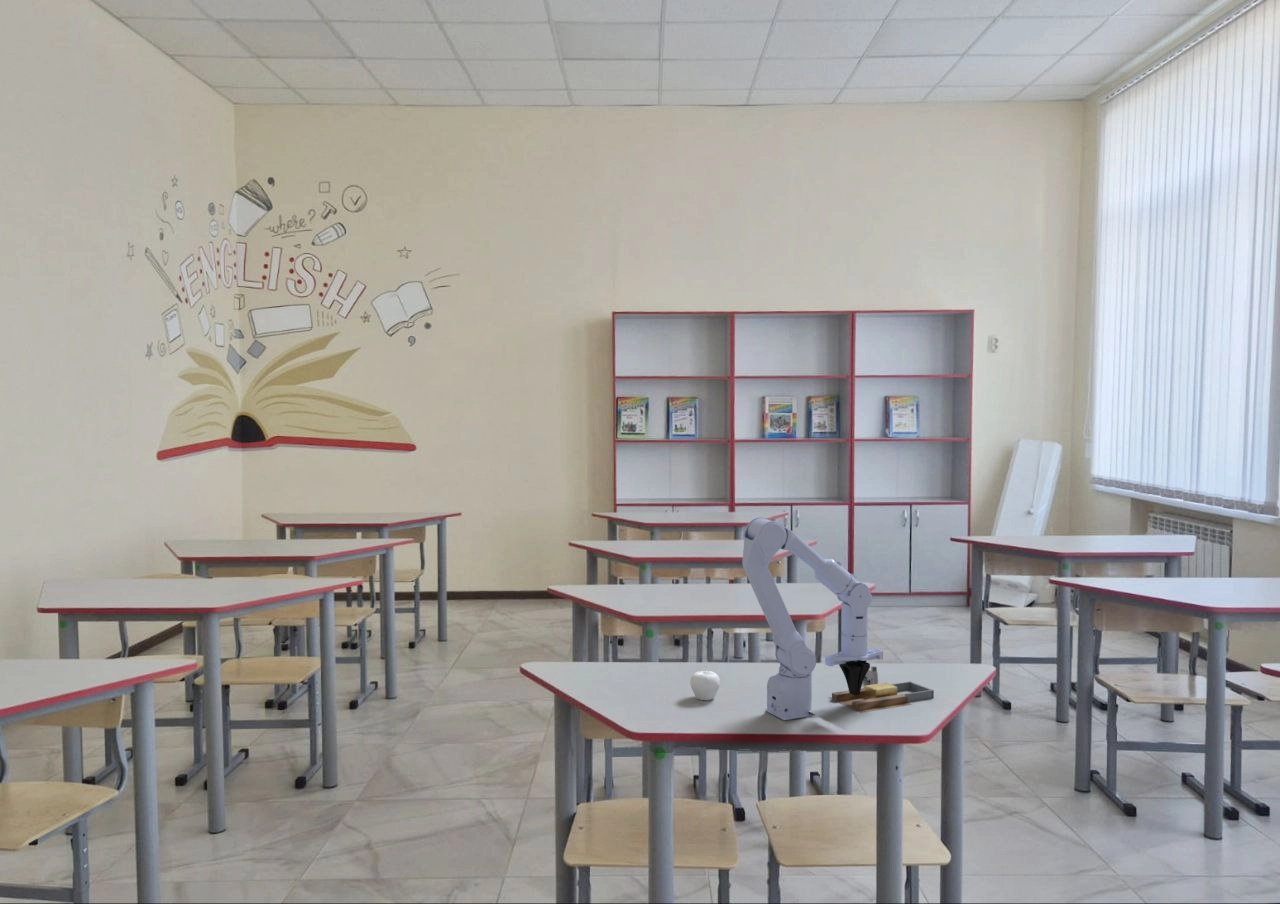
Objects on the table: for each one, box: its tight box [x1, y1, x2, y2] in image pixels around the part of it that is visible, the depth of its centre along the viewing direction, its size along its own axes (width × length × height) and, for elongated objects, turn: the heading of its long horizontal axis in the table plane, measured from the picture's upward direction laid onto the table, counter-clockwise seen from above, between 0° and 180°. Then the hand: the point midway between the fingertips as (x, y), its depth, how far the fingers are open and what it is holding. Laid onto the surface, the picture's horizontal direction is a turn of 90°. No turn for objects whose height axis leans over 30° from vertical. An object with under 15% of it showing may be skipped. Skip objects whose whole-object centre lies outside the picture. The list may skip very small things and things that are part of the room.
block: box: [864, 682, 898, 699], centre depth 214 cm, size 6×4×3 cm, turn 114°
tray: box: [890, 681, 935, 703], centre depth 217 cm, size 8×8×3 cm
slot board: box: [829, 687, 913, 713], centre depth 212 cm, size 14×12×3 cm
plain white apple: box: [690, 664, 721, 701], centre depth 219 cm, size 7×7×8 cm
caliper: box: [865, 665, 879, 685], centre depth 233 cm, size 20×1×6 cm, turn 0°
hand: (854, 693), depth 210 cm, fingers closed
